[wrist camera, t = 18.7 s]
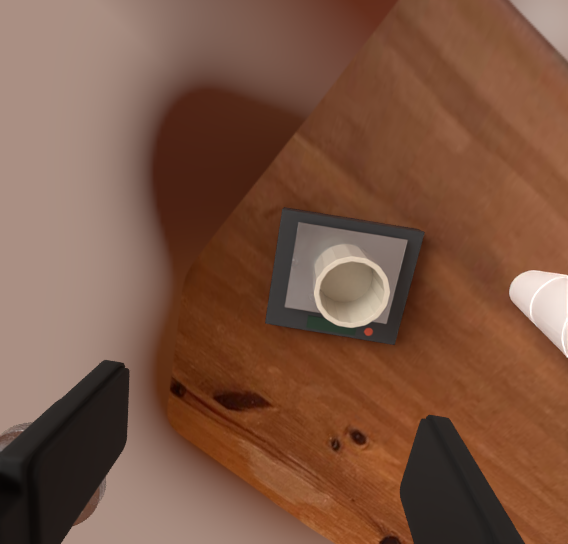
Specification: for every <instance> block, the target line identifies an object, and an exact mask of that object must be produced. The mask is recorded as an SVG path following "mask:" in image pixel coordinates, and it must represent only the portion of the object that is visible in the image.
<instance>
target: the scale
mask: <svg viewBox="0 0 568 544" xmlns="http://www.w3.org/2000/svg"><path fill="white" fill-rule="evenodd" d="M299 221H300V222H306V223H312V224H318V225H324V226H330V227H336V228H343V229H349V230H355V231H361V232H367V233H373V234H380V235H386V236H392V237H398V238H404V239H407V240H408V241H407V245H406V249H405V253H404V257H403V261H402V265H401V269H400V273H399V277H398V280H397V284H396V288H395V292H394V296H393V300H392V304H391V308H390V312H389V316H388V320H387V324H383V323H377V322H370V323H368V324H367V325H364V326H359V327H354V328H349V327H343V326H338V325H335V324H334V323H332V322H330V321H329V320H327V319H326V318H325V317H324V316H323V315H322V313H317V312H311V311H305V310H299V309H293V308H287V307H285V301H286V295H287V288H288V282H289V276H290V270H291V264H292V258H293V252H294V246H295V240H296V234H297V228H298V222H299ZM423 236H424V232H423V231H421V230H419V229H415V228H408V227H402V226H396V225H390V224H384V223H378V222H371V221H365V220H359V219H353V218H347V217H340V216H334V215H328V214H322V213H316V212H310V211H303V210H297V209H291V208H285V207H284V208H283V209H282V216H281V222H280V229H279V235H278V242H277V249H276V255H275V262H274V268H273V275H272V281H271V288H270V295H269V301H268V308H267V314H266V321H265V323H266V324H272V325H278V326H284V327H290V328H296V329H302V330H308V331H314V332H320V333H326V334H332V335H338V336H344V337H350V338H356V339H362V340H368V341H374V342H380V343H386V344H392V345H395V342H396V338H397V334H398V330H399V327H400V323H401V319H402V315H403V312H404V308H405V304H406V300H407V296H408V293H409V289H410V285H411V281H412V278H413V274H414V270H415V266H416V263H417V259H418V255H419V251H420V248H421V244H422V240H423Z"/></svg>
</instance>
